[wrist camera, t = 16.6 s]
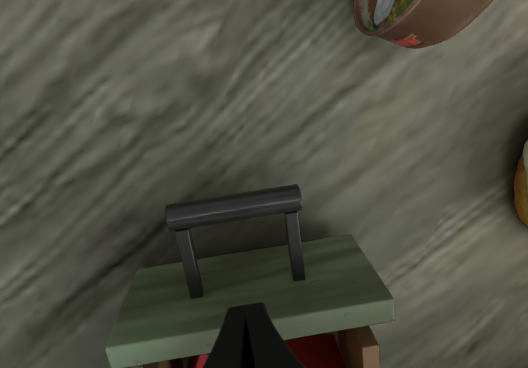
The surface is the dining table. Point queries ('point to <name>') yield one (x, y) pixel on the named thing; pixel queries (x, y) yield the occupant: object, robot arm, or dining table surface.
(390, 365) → the dining table surface
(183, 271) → the drawer
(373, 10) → the tin
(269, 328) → the robot arm
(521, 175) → the decorated donut
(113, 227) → the dining table surface
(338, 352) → the chocolate bar
